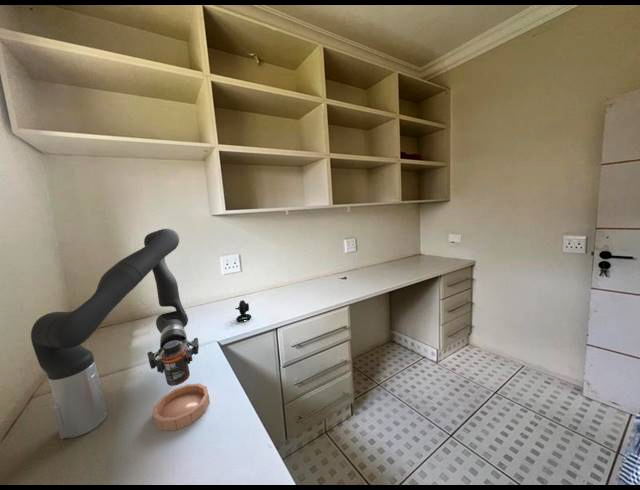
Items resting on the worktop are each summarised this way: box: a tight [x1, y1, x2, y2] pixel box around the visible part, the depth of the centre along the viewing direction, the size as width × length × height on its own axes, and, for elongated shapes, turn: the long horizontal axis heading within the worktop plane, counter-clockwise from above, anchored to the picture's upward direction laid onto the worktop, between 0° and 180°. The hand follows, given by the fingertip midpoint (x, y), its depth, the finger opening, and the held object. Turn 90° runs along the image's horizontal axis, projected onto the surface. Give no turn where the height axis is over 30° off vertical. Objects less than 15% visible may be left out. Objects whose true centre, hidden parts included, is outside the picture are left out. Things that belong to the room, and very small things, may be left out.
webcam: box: [235, 299, 252, 322], centre depth 133 cm, size 8×8×10 cm
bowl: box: [152, 382, 211, 432], centre depth 75 cm, size 14×14×3 cm
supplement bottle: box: [161, 340, 191, 387], centre depth 73 cm, size 6×6×11 cm
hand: (175, 365), depth 71 cm, fingers closed on supplement bottle, 6 cm apart
